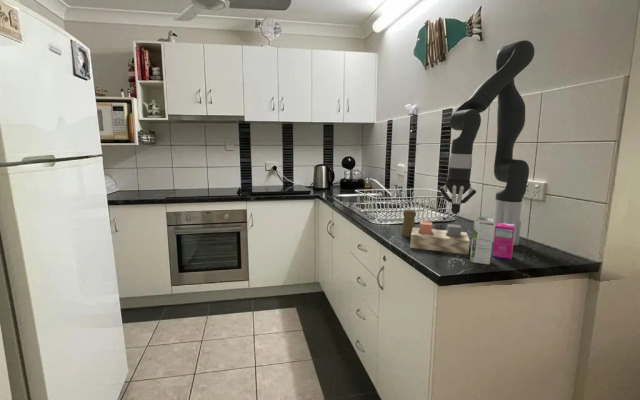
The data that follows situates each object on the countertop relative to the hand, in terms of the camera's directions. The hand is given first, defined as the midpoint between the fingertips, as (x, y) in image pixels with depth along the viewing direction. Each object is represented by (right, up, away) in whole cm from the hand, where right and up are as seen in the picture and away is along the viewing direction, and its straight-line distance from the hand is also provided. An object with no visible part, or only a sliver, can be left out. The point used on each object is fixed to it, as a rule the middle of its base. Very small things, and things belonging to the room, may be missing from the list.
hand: (455, 213), depth 122 cm
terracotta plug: (-10, -9, +5) cm, 14 cm away
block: (-5, -13, +4) cm, 14 cm away
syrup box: (+4, -16, -11) cm, 20 cm away
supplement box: (+14, -15, -7) cm, 21 cm away
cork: (-12, -10, +19) cm, 25 cm away
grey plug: (0, -9, +2) cm, 10 cm away
